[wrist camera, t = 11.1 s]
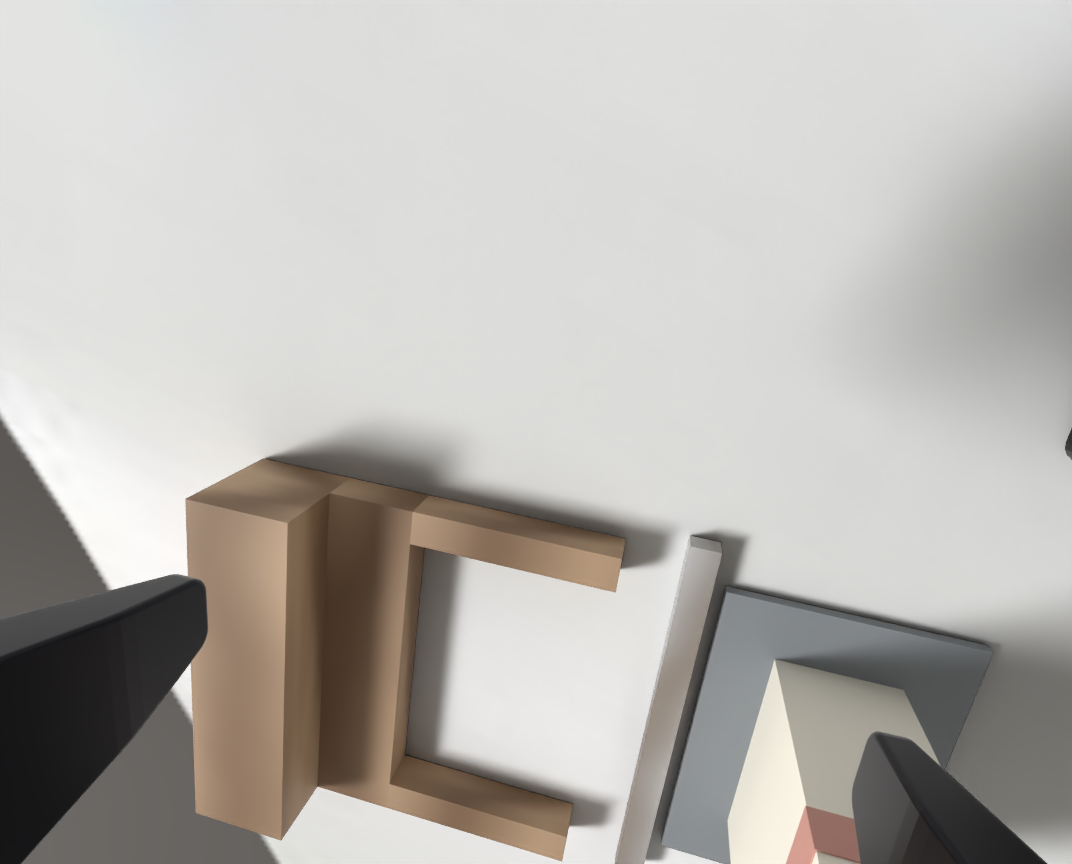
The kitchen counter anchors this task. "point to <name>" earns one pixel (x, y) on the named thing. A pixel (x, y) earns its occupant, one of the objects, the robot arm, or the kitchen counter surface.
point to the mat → (817, 642)
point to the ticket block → (810, 765)
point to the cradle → (379, 652)
